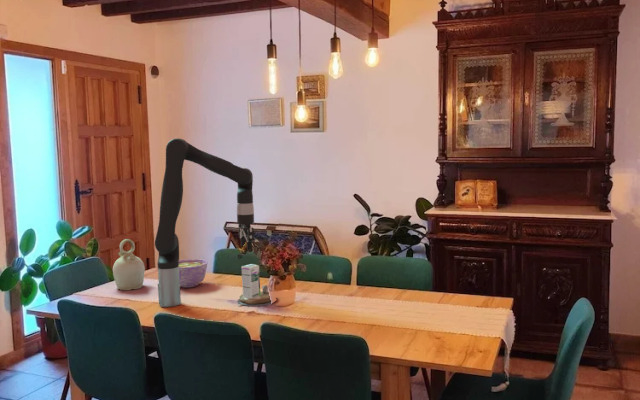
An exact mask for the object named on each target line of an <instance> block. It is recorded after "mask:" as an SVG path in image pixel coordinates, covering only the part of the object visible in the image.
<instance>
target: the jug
mask: <svg viewBox="0 0 640 400" xmlns="http://www.w3.org/2000/svg"><path fill="white" fill-rule="evenodd" d="M125 243H130V245H131V248H130V250H128V251H127V250H124V245H125ZM135 245H136V244H135V242H134V241H133V240H132V239H129V238H125V239H123V240H122V241H121V242H120V243H119V252H118V253H117V255H119V258H117V259H116V261H115V262H114V264H113V266H112V276H113V279H114V282H115V285H116V287H117V290H119V289H120V291H132V290H131V289H135V290H138V289H141V288H143V284H144V282H145V281H144V280H145V270H146V269H145V268H146V267H145V263H144V262H143V260H142V259H141V257H138V256H136V255H135V254H134V251H135V249H136V246H135Z"/></svg>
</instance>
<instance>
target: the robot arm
mask: <svg viewBox="0 0 640 400" xmlns="http://www.w3.org/2000/svg"><path fill="white" fill-rule="evenodd" d="M185 161H188V162H192V163H194V164H197V165H199V166H201V167H203V168H205V169H207V170H208V171H210V172H212V173H214V174H217V175H220V176H222V177H225V178H228V179H229V180H230V181H232V182H234V183H237V193H236V219H237V221H236V222H237V224H238V238H239V239H240V247H241V248H244V247H243V245H244V244H245V242H246V250H247V251H252V250H253V242H255V236H254V234H255V233H254V231H255V230H254V227H252V226H251V224H253V225H254V224H255V212H254V211H255V210H254V196H253V183H254V179H253V178H254V175H253V173H252V171H251V170H250V169H249V168H245V167H241V166H237V165H236V164H234V163H232V162H231V161H229V160H227V159H224V158H221V157H220V156H216V155H213V154H211V153H208V152H206V151H203V150H201V149H199V148H197V147H195V146H194V145H192V144H190V143H189V142H188V141H186V140H185V139H182V138H172V139H170V140H169V141H168V142H167V144H166V147H165V171H164V175H163V181H162V186H161V195H160V201H159V202H160V204H159V205H160V206H159V221H158V226H157V231H156V236H155V239H154V247H155V249H156V252H158V259H157V277H158V283H157V293H158V294H157V295H158V305H159V306H160V307H161V308H167V307H168V308H170V307H171V308H172V307H176V306H180V305H181V303H182V299H181V298H182V297H181V286H180V279H179V260H180V242H179V237H178V235H177V233H176V224H177V220H178V217H179V215H180V211H181V207H182V202H183V195H184V180H183V167H184V162H185Z"/></svg>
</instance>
